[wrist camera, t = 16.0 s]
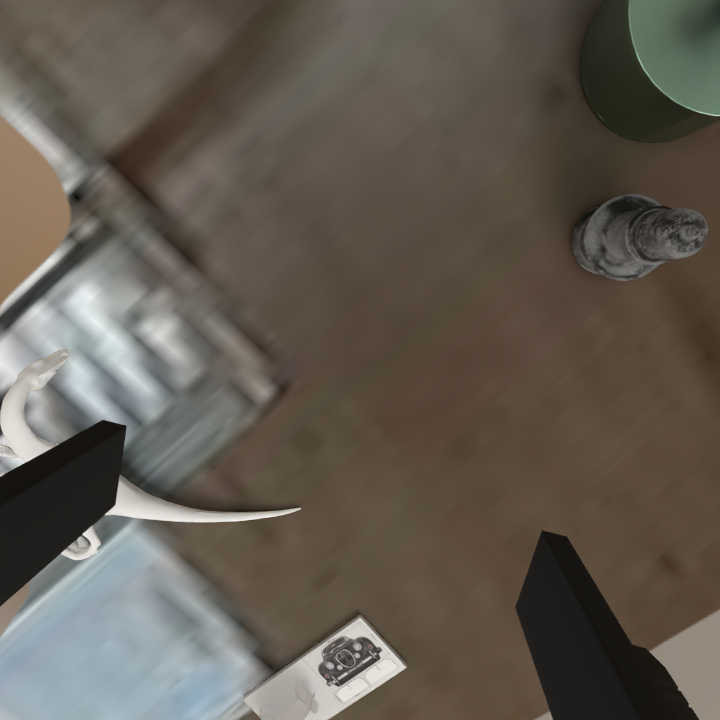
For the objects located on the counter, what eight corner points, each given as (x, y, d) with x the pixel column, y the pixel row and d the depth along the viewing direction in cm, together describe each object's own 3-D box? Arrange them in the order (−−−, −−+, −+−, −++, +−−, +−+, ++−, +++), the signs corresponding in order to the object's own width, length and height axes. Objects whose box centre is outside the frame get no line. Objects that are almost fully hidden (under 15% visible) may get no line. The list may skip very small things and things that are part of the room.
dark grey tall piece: (605, 294, 39) (694, 310, 28) (550, 243, 39) (617, 237, 27) (664, 235, 38) (782, 226, 26) (608, 182, 38) (704, 148, 26)
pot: (559, 12, 36) (608, -62, 27) (722, -62, 34) (826, -164, 26) (605, 167, 38) (665, 142, 29) (762, 103, 36) (872, 57, 28)
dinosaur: (221, 553, 56) (305, 461, 50) (203, 627, 48) (299, 529, 43) (-11, 446, 48) (58, 322, 42) (-77, 515, 40) (-4, 375, 34)
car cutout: (288, 741, 50) (278, 788, 46) (243, 695, 49) (228, 738, 45) (406, 663, 47) (407, 705, 43) (360, 614, 46) (356, 651, 42)
